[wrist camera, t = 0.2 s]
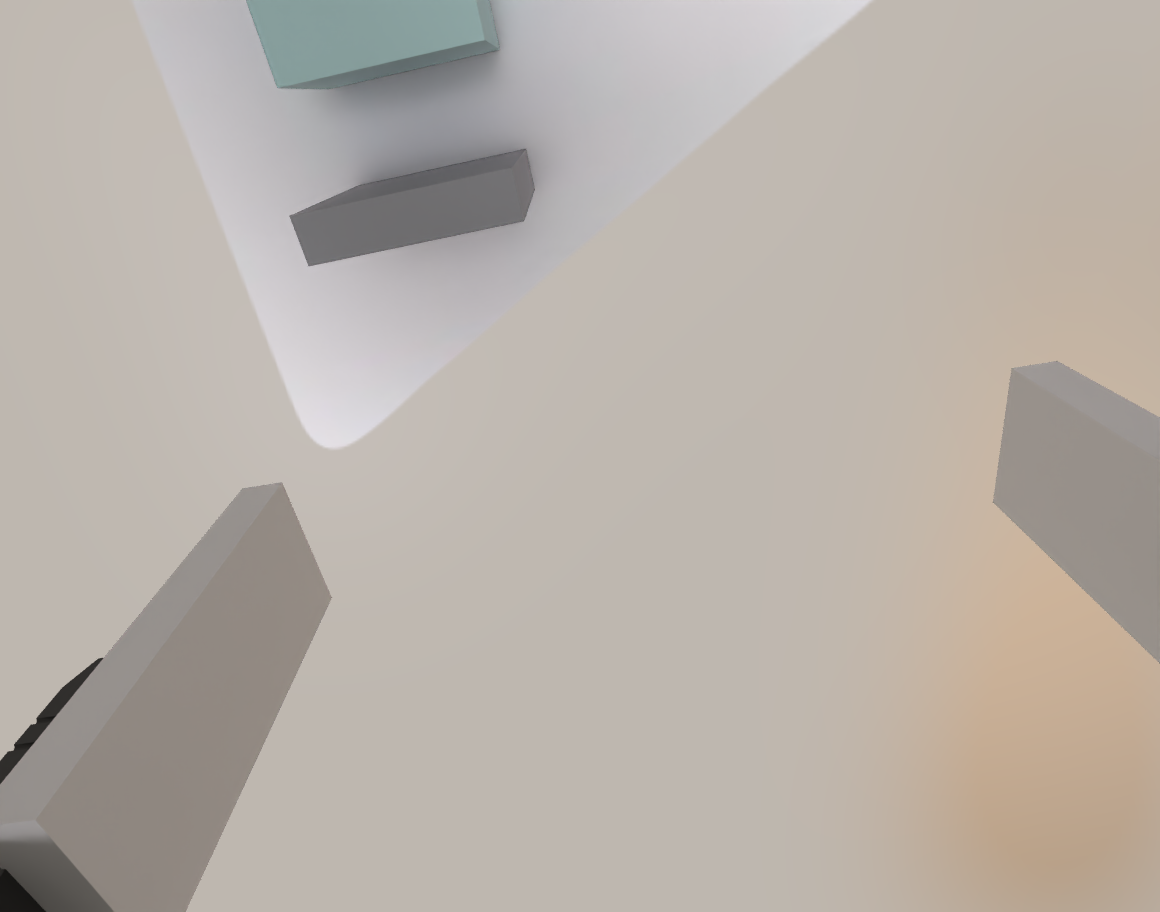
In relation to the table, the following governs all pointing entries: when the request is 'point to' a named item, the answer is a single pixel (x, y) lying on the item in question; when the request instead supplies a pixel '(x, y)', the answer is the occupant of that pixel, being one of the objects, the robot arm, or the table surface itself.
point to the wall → (417, 208)
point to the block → (367, 37)
